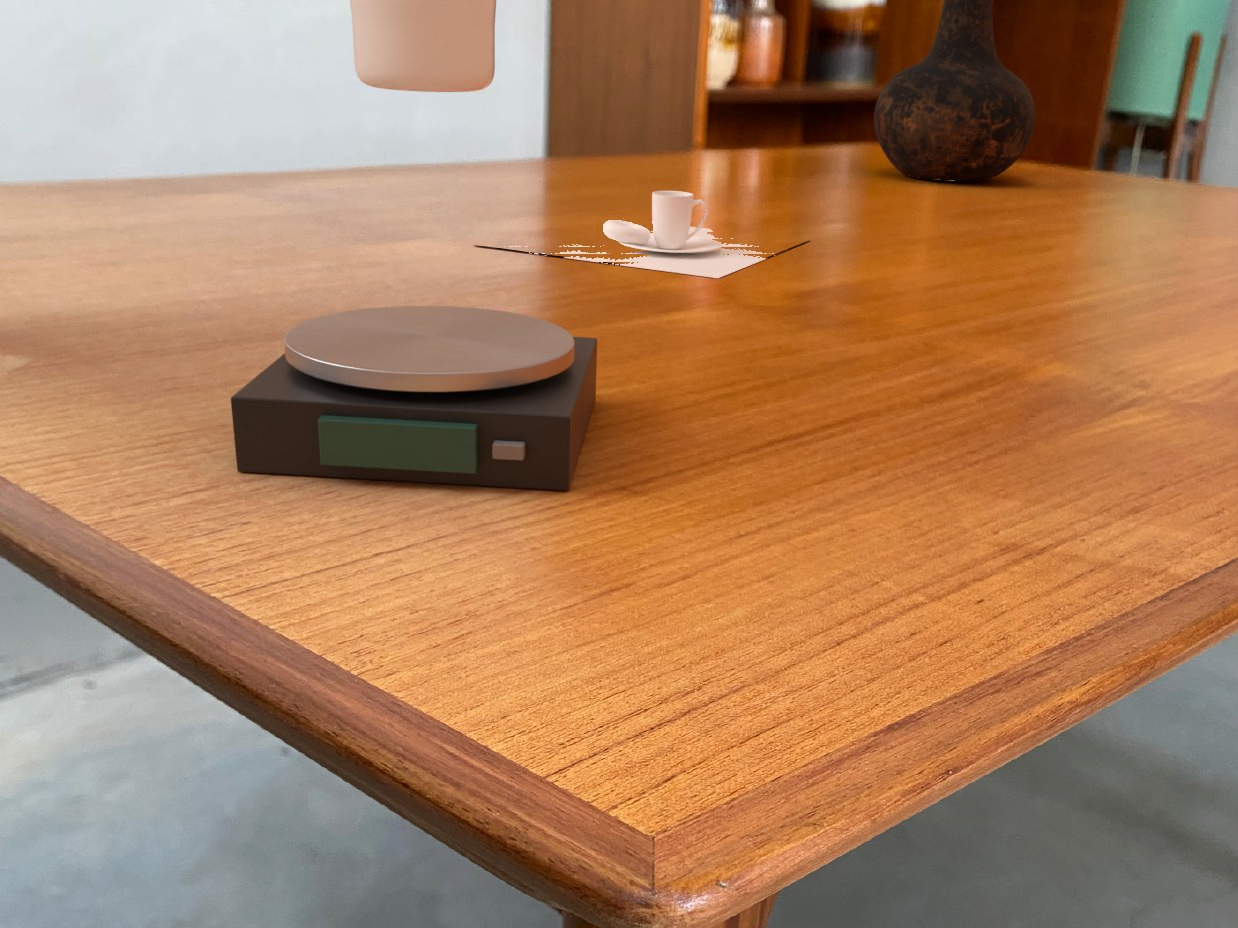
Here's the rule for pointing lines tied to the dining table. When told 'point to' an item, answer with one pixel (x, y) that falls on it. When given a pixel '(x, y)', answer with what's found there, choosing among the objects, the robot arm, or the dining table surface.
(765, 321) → the dining table surface
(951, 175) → the rusty bud vase
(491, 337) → the scale pan
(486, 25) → the drinking glass
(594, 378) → the scale
